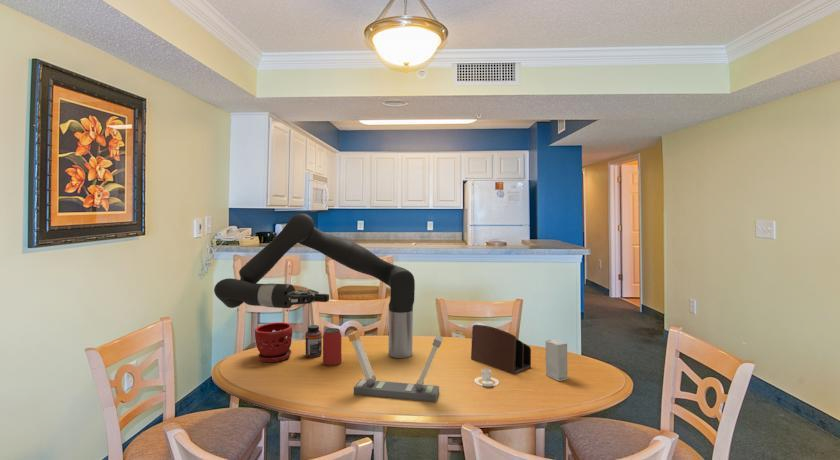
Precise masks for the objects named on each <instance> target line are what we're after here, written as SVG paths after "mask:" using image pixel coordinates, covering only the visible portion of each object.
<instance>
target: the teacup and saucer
mask: <svg viewBox="0 0 840 460" xmlns="http://www.w3.org/2000/svg"><path fill="white" fill-rule="evenodd" d="M479 380H482V382H481V383H480V382H479ZM491 380H492V381H491ZM493 381H494V382H493ZM473 382H474V383H475V384H476V385H478V386H482V387H488V388H489V387H496V386H498V385H499V383H500V381H499V379H498V378H495V377H492V370H491V369H489V368H482V369H481V376H477V377H475V379H474V381H473Z"/></svg>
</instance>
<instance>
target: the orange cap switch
mask: <svg viewBox="0 0 840 460" xmlns="http://www.w3.org/2000/svg"><path fill="white" fill-rule="evenodd" d="M361 336H362V335H361V333H360V329H357V330H355V331H352V332H350V333H349V334H348V335H347V338H348V341H349V342H350V343H352V346H353V347H352V348H353V349H354V352H355V354H356V357H357V360H358V363H359V366H360V368H361V370H362V373H363V377H364V378H365V379H364V380H367V381H366V384H367V385H368V386H371V385H372V384H373V383H374V382H375V381H377V377H376V375H374V372H373V368H372V366H371V363H370V361H369V358H368V355H367V353H366V350H365V348H364V345H363V343H362V339H361Z"/></svg>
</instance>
